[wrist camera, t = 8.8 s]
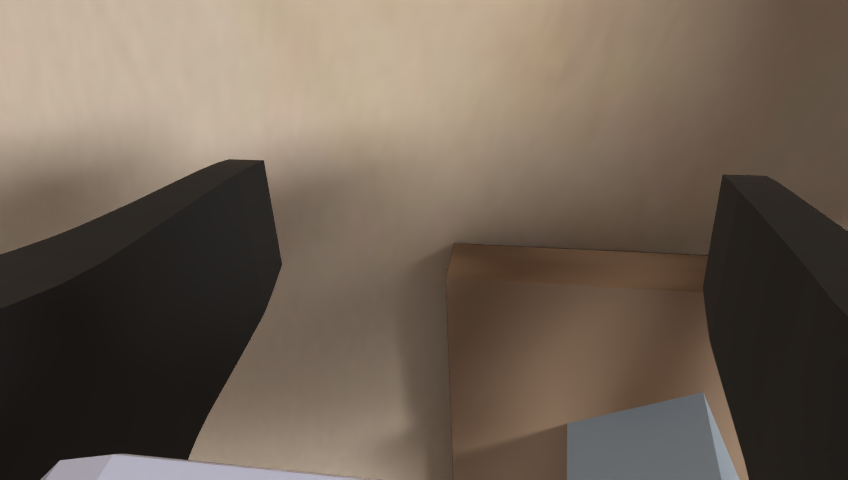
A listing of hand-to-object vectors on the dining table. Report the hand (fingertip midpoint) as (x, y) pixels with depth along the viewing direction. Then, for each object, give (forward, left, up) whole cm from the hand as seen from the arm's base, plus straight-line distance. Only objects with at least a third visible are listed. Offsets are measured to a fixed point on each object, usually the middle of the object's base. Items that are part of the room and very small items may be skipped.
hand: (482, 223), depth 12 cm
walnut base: (-5, +14, -10) cm, 18 cm away
